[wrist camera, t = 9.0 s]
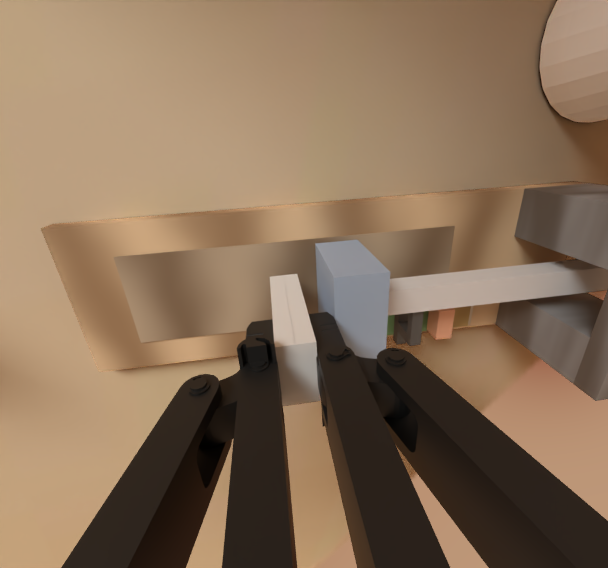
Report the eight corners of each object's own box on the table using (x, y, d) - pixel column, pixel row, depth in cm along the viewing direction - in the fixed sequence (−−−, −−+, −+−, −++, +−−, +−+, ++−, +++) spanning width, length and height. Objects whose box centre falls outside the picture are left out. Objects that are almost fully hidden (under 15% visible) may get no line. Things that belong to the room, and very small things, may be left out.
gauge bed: (106, 362, 20) (16, 486, 13) (52, 224, 17) (-115, 287, 9) (537, 310, 23) (669, 389, 16) (573, 181, 19) (767, 204, 12)
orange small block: (426, 329, 21) (435, 339, 20) (429, 302, 20) (439, 311, 19) (441, 327, 21) (450, 337, 20) (444, 300, 20) (455, 309, 19)
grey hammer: (319, 344, 20) (336, 401, 16) (315, 243, 18) (333, 277, 13) (595, 310, 22) (682, 353, 17) (630, 214, 19) (743, 235, 15)
